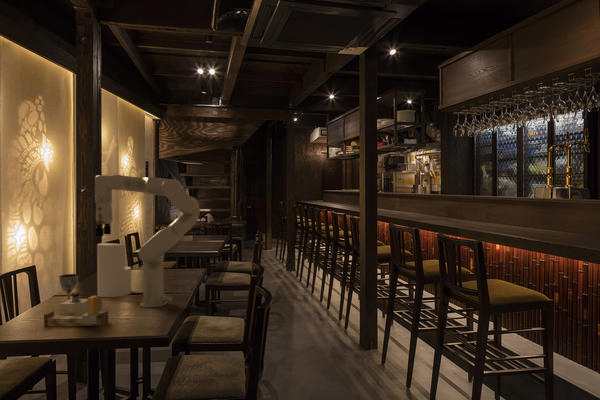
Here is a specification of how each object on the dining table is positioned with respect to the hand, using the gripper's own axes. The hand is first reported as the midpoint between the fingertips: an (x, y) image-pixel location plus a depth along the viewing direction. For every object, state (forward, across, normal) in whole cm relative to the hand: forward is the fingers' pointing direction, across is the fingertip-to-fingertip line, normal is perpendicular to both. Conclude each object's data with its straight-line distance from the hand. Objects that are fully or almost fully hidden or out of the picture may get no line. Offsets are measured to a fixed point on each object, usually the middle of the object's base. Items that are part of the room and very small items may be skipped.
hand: (103, 235), depth 202 cm
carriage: (+35, -29, -6) cm, 46 cm away
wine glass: (+36, +4, +18) cm, 40 cm away
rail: (+35, -28, +1) cm, 45 cm away
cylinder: (+36, +28, +4) cm, 45 cm away
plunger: (+31, -17, +6) cm, 36 cm away
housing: (+35, -17, +6) cm, 40 cm away
